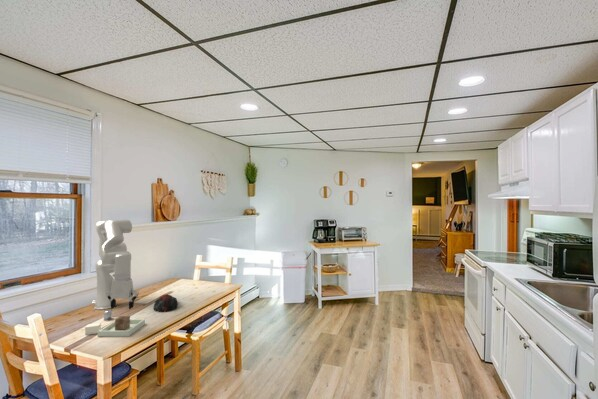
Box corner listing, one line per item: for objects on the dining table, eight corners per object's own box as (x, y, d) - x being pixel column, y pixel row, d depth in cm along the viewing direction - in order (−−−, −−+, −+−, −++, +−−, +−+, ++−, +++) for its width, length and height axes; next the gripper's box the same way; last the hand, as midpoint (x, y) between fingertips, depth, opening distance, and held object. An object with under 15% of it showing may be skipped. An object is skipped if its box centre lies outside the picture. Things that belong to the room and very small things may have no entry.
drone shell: (168, 313, 185) (168, 300, 185) (142, 310, 190) (142, 298, 190) (189, 302, 205) (189, 291, 205) (165, 300, 210) (165, 289, 211)
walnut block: (115, 330, 158) (115, 319, 158) (120, 326, 163) (120, 315, 163) (124, 330, 158) (124, 319, 158) (129, 326, 163) (129, 315, 163)
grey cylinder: (102, 320, 173) (102, 312, 174) (106, 318, 177) (106, 309, 178) (108, 320, 173) (108, 312, 174) (113, 318, 177) (113, 309, 178)
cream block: (85, 335, 155) (85, 327, 155) (87, 331, 158) (87, 324, 158) (98, 333, 157) (98, 325, 157) (100, 330, 160) (100, 322, 160)
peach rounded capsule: (118, 322, 170) (118, 317, 170) (123, 319, 175) (123, 314, 175) (126, 322, 170) (126, 317, 170) (130, 319, 175) (130, 314, 175)
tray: (97, 336, 152) (97, 331, 152) (117, 323, 168) (117, 319, 168) (128, 336, 152) (128, 331, 152) (145, 323, 168) (145, 319, 168)
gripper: (102, 278, 157) (101, 310, 157) (134, 278, 157) (134, 311, 157) (111, 274, 165) (110, 305, 165) (142, 275, 165) (141, 305, 165)
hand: (122, 308), depth 161 cm, fingers open, 9 cm apart
